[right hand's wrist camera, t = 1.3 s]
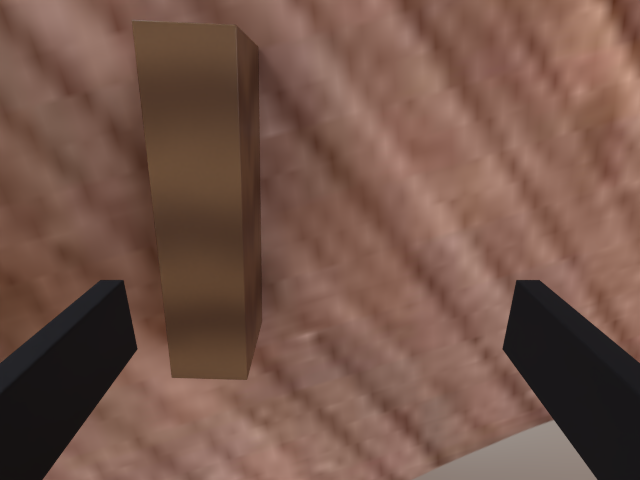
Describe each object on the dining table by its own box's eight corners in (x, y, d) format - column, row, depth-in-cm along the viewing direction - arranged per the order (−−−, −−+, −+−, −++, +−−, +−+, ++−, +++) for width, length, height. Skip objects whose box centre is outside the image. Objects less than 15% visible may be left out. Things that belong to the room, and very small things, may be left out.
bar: (181, 42, 28) (131, 19, 20) (258, 46, 28) (236, 24, 20) (202, 319, 35) (171, 378, 28) (262, 321, 36) (247, 380, 28)
